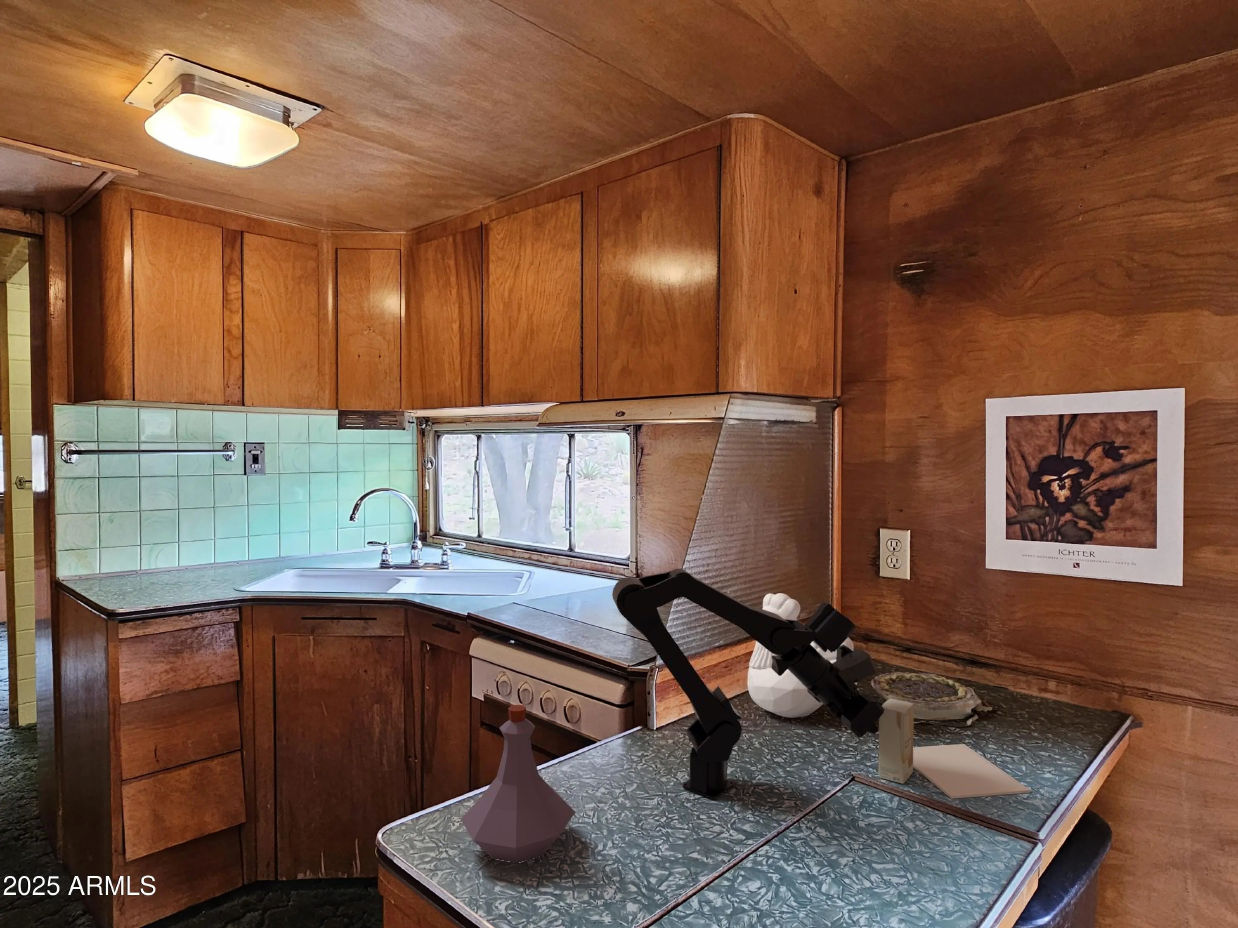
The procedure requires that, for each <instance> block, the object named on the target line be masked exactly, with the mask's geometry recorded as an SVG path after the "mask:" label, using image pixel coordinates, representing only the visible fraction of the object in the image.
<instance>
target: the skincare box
mask: <svg viewBox="0 0 1238 928" xmlns="http://www.w3.org/2000/svg"><path fill="white" fill-rule="evenodd" d="M881 706H882V707H883V708H884V713H883V714H882V715H881V717H880V718H879V719H878V778H880V779H885V780H888V781H892V782H895V783H899V784H905V782H907V780H909V778H910V776H911V775H912V773H913V772H914V767H913V747H914V726H915V725H914V724H915V723H914V722H915V721H914V720H915V718H914V703H909V702H905V701H900V700H896V699H888V700H887V701H886V702H885V703H884V704H882V705H881Z"/></svg>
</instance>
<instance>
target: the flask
mask: <svg viewBox="0 0 1238 928" xmlns="http://www.w3.org/2000/svg"><path fill="white" fill-rule="evenodd" d="M507 710H508V711H507V712H508V718H509V719H508V720H507V721H506V722H504V723H503V724H502V725H501V726H500V727H499V730H500V732H501V735H502V736H503V738H504V741H503V743H504V745H503V752H502V756H501V758H500V762H499V763H500V764H499V767H498V770H497V774H496V777H495V778H494V780H493V781H492V782H491V783H490V784H489V786H488V787H487V788H486V790H485V791H484V792H483V793H482V795H481V796H480V797H479V798H478V799H477V800H476V801H475V802H474V804H472V806H471V807H470V808H469V809H468V810H467V811H466V812H465V814H463V815H462V817H461V818H460V821H461V823H462V825H463V826H464V828H465V829H466V831H467V832H468V834H469V836H470V838H471V839H472V841H473V842H474V843H475V844H476V845H478V847H479V848H480V849H482V850H483V851H484V852H485V853H486V854H487V855H488V856H490V858H491V859H493V858H494V859H499V860H504V861H510V862H514V863H513V864H515V863H519V862H522V861H525V860H529V859H532V860H534V859H533V858H535V859H537V858H536V857H539V856H542V855H543V856H544V855H545V853H546V852H547V851H548V850H549V849H550V848H551V846H552V845H553V844H554V843H555V842H556V840H558V838H559V837H560V836H561V834H562V832H563V831H564V830H565V828H566V827H567V825H568V823H570V821H571V820H572V818H573V817H574V816H575V814H576V810H574V809H573V808H572V807H571V805H570V804H569V803H568V802H567V801H566V800H565V799H564V798H563V797H562V796H561V794H560V793H558V791H556V790H555V789H554V788H553V787H552V786H551V785H549V783H547V781H545V779H543V777H542V776H541V775H540V773H539V769H538V767H537V764H536V759H535V757H534V753H533V750H532V742H531V741H532V740H531V736H532V734H533V732H534V729H535V728H536V725H534V724H533V723H532V722H531V721H530V720H529V719H527V718H526V712H527V707H526V706H525V705H523V704H515V705H510V706H509V707H508V708H507ZM543 856H542V857H543ZM539 858H540V857H539ZM494 859H493V860H494ZM504 861H503V862H504ZM529 861H530V860H529ZM522 863H523V862H522ZM519 864H520V863H519Z"/></svg>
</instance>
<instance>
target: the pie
mask: <svg viewBox="0 0 1238 928" xmlns="http://www.w3.org/2000/svg"><path fill="white" fill-rule="evenodd" d="M870 685H871V687H872V689H873V690H874V692H876V693H877V695H878V696H879V697H880V699H881V700H880V701H881V702H882V705H883V704H884V703H885V702H886V701H887V700H888V699H896V700H900V701H905V702H909V703H914V719H922V720H927V721H930V720H931V721H948V720H959V719H960V720H961V719H962V720H963V719H965V718H967V717H970V716H973V717H971V718H969V719H968V720H966V723H967V725H966V727H967V726H970V725H972V722H974V721H976V720H977V719H979V716H978V715H977V714H976V713H974V712H972V710H974V711H977V712H981V711H983V712H988V711H992V709H993V708H994V707H993V706H991V705H990V703H988V702H987V701H985V700H981V699H980V698H979V697H978V695H977V694H976V693H975V691H974V689H973V688H972V687H968V686H966V685H963V684H962V683H958V682H957V681H956V682H955V681H954V679H951V678H949V679H947V678H946V677H944V676H941V675H937V673H934V674H933V673H926V672H924V673H923V672H922V673H913V672H909V671H907V672H901V671H900V672H898V671H896V672H891V673H889V672H886V673H882V674H879V675H877V676H874V678H873V679H871V682H870ZM982 702H983V703H984V704H985V705H984V706H983V703H982ZM927 721H923V723H925V724H928V722H927ZM919 723H920V721H914V724H919ZM929 725H935V723H932V722H929ZM936 725H939V726H940V725H941V726H944V724H942V723H941V724H940V723H936ZM947 726H948V727H950V726H951V725H948V724H947ZM954 727H955V728H957V727H962V728H963V727H965V725H964V726H960V725H959V726H957V725H954Z"/></svg>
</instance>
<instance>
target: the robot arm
mask: <svg viewBox="0 0 1238 928" xmlns="http://www.w3.org/2000/svg"><path fill="white" fill-rule="evenodd" d="M611 596H612V599H613V602H614V603H615V606H616V608H617V610H618V612H619V614H621V616H622V617H623V618H624V619H625V620H626V621H628V623H629V624H631V625H632V627H634V629H636V630H637V631H638V632H640V633H641V634H642V635H643V636H644V637H645V638H646V640H647V642H649V644H650V645H651V647H652V648H653V649H654V651H655V652H656V654H657V655H658V657H659V658H660V660H661V661H662V662H663V664H664V665H665V667H666V668H667V670H668V671H669V672H670V674H671V675H672V676H673V678H674V680H675V681H676V683H677V684H678V685H679V687H680V688H681V689H682V691H683V693H684V694H685V696H686V697H687V699H688V700H689V702H690V705H691V708H692V710H693V712H694V714H695V716H696V719H695V720H694V721H693V722H692V723H691V724H690V725H689V727H687V728H686V730H685V732H686V735H687V738H688V741H689V742H690V743H691V745H692V747H691V749H690V753H689V780H687V781H685V782H683V783H682V788H683V789H685V790H688V791H690V792H693V793H695V794H698V795H700V796H703V797H705V798H708V799H711V800H716V799H718V798H719V797H720V796H722V795H723V794H725V793H726V792H728V791H729V790H731V789H732V788H734V787H735V781H732V780H729V779H728V761H729V760H730V756H731V754H732V751H733V749H734V746H735V745H736V744H737V743H738V742H739V740H740V739H741V735H742V732H743V728H742V725H741V723H740V721H739V720H741V719H742V716H741V715H740V714H739V713H738V711H737V710H736V708H735V707H734V706H733V704H732V703H731V701H730V699H729V698H728V697H727V695H726V694H725V693H724V692H723V690H722V689H721V688H720V686H716V687H715V689H714V690H712V689H710V687H708V686H707V684H705V682H704V681H703V679H702V678H701V676H700V675H699V673H698V672H697V671H696V669H695V668H694V667H693V665H692V663H691V662H690V661H689V659H688V658H687V656H686V655H685V653H684V652H683V650H682V649H681V647H680V646H679V644H677V641H676V640H675V639H674V637H673V636H672V635H671V633H670V632H669V630H668V629H667V627H666V626H665V625H664V622H663V619H662V617H661V614H660V612H659V610H658V608H661V607H663V606H666V605H667V604H669V603H671V602H673V601H675V600H677V599H680V598H684V599H686V600H688V601H690V602H692V603H694V604H695V605H697V606H700V607H701V608H703V609H705V610H707V611H708V612H711V613H712V614H715V615H716V616H718V617H720V618H721V619H723V620H725V621H727V622H729V623H731V624H733V625H735V626H737V627H738V628H740V629H741V630H742V631H744V632H745V633H747V634H748V636H750V637H752V639H754V640H755V642H756V641H757V642H759V643H760V644H761V645H762V646H763V647H765V648H766V649H767V650H768V651H770V652H771V653H773V654H775V655H776V656H774V655H773V656H772V667H771V668H772V670H773V671H774V672H775V673H777V674H778V675H779V676H781V675H782V674H783V673H784V672H785V671H786V670H787V669H788V670H789V671H790V672H791V673H792V674H793V675H794V676H795V677H796V678H797V679H798V680H799V681H800V682H801V683H802V684H803V685H804V686H805V687H806V688H807V692H808V693H809V694H810V695H811V696H812V697H813V698H814V699H816V700H817V701H818V702H819V703H821V702H822V703H823V704H822V705H823V706H825V708H828V712H829V713H830V714H831V715H833V716H834V717H836V718H838V720H839V721H840V722H841V723H842V724H843V725H844V726H845V727H846V728H847V729H848V730H850V731H851V733H853V734H854V735H855V736H856V737H857V738H858V739H859V738H862V737H864V735H866V734H867V733H871V734H874V735H875V734H876V733H877V732H879V727H878V726H877V725H876V724H877V721H879V718H880V717H881V715H882V714H883V713H884V708H883V707H882V705H881V704H880V703H879V702H878V701H877V700H876V699H874V698H873V697H871V696H870V695H869V694H868V693H865V694H864V693H859V692H860V691H859V690H858V688H859V686H858V684H857V685H856V684H855V683H856V682H857V683H858V682H861V681H863V680H865V679H866V678H868V677H870V676H874V675H876V674H877V673H878V670H877V668H876V665H875V664H874V661H873V659H872V657H871V655H870V653H868V652H867V651H865V650H864V649H862V648H856V647H854V648H853V649H854V650H853V651H852V650H851V649H850V648H848V647H847V646H845V645H841V644H842V643H843V642H844V641H845V640H846V639H847V638H848V637H849V638H850V636H851V635H852V633H853V632H855V630H856V629H857V626H856V625H855V624H854V623H853V622H852V620H850V618H849V617H847V616H846V615H844V614H842V613H841V612H840V611H839V610H837V609H836V608H835V607H834V606H832V604H830V603H829V602H827V601H822V602H821V603H820V605H819V606H818V608H817V610H815V612H813V614H812V615H811V616H810V617H809V618H808V619H807V620H806V621H805V622H804V623H803V622H801V621H800V620H798V619H797V620H788V619H783V618H782V617H780V616H779V615H778V614H775V613H772V612H769V611H766V610H763V609H762V608H760V607H756V606H751V605H748V604H745V603H743V602H741V601H739V600H738V599H736V598H734V597H732V596H730V595H728V594H727V593H724V592H723V591H721V590H720V589H717V588H716V587H713V586H712V585H709V584H708V583H706V582H705V581H702V580H701V579H699V578H698V577H695V576H693V575H692V574H690V573H689V572H688V571H686V570H685V569H683V568H674V569H672V570H669V571H666V572H661V573H655V574H650V575H645V576H642V577H639V578H638V577H633V576H626V577H623V578H621V579H619V580H618V581H617V582H616V583H615V585H614V587H613V589H612V595H611ZM812 642H813V643H814V644H815V645H817V646H818V647H819V648H820V649H821V650H822V651H824V652H826V651H827V649H828V650H829V651H830V652H831V653H832V652H835V651H836V650H837V658H836V661H835V662H834V663H831V662H830V661H829V660H827V659H825V658H824V657H823V656H822V655H821V654H820V653H819V652H818V651H817V650H816V649H815V648H814V647H813V646H812V645H811V643H812ZM840 645H841V646H840Z"/></svg>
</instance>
